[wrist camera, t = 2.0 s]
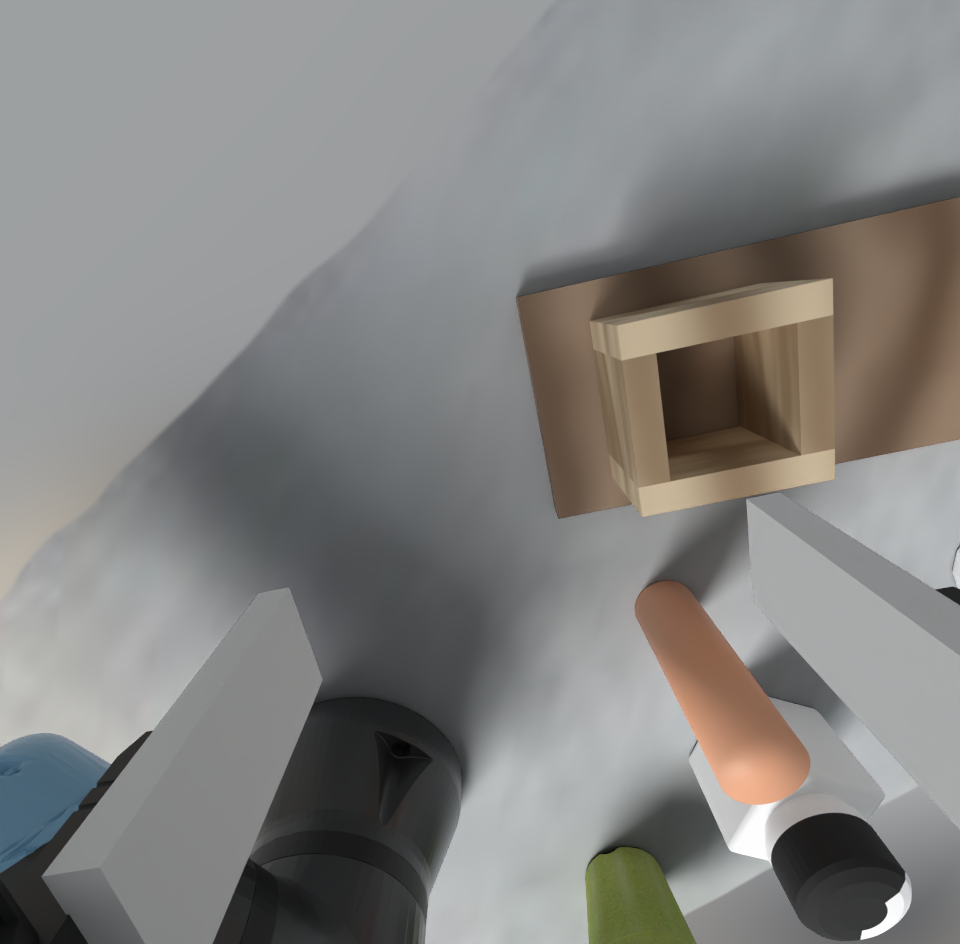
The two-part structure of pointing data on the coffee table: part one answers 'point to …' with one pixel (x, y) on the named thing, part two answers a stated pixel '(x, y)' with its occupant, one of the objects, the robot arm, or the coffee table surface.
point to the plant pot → (632, 901)
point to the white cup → (957, 568)
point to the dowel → (721, 699)
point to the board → (712, 365)
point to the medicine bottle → (819, 836)
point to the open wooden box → (761, 395)
